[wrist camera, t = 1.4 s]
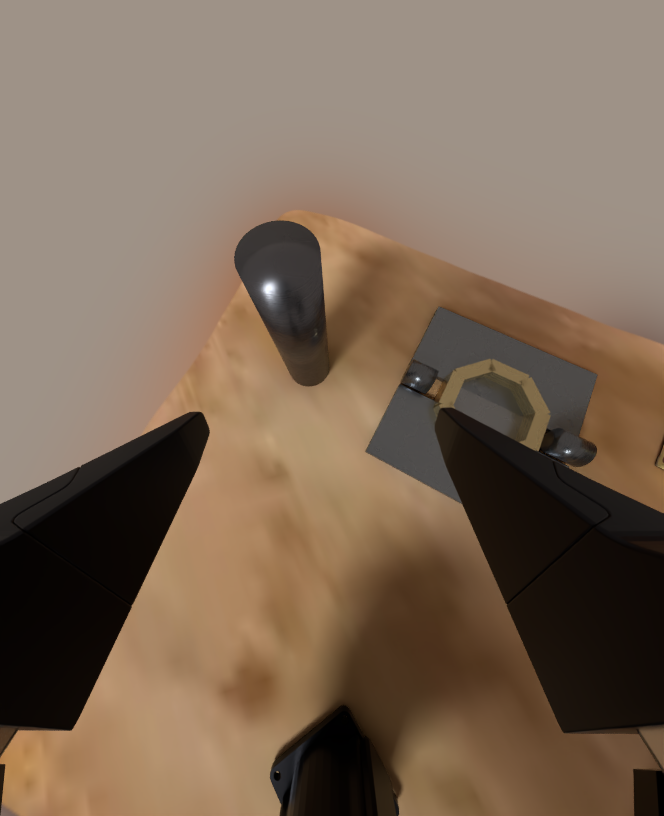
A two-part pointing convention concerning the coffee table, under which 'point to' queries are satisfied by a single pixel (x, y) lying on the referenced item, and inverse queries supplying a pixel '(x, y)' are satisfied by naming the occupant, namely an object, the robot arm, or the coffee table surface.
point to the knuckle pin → (288, 294)
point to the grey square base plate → (483, 399)
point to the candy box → (660, 459)
